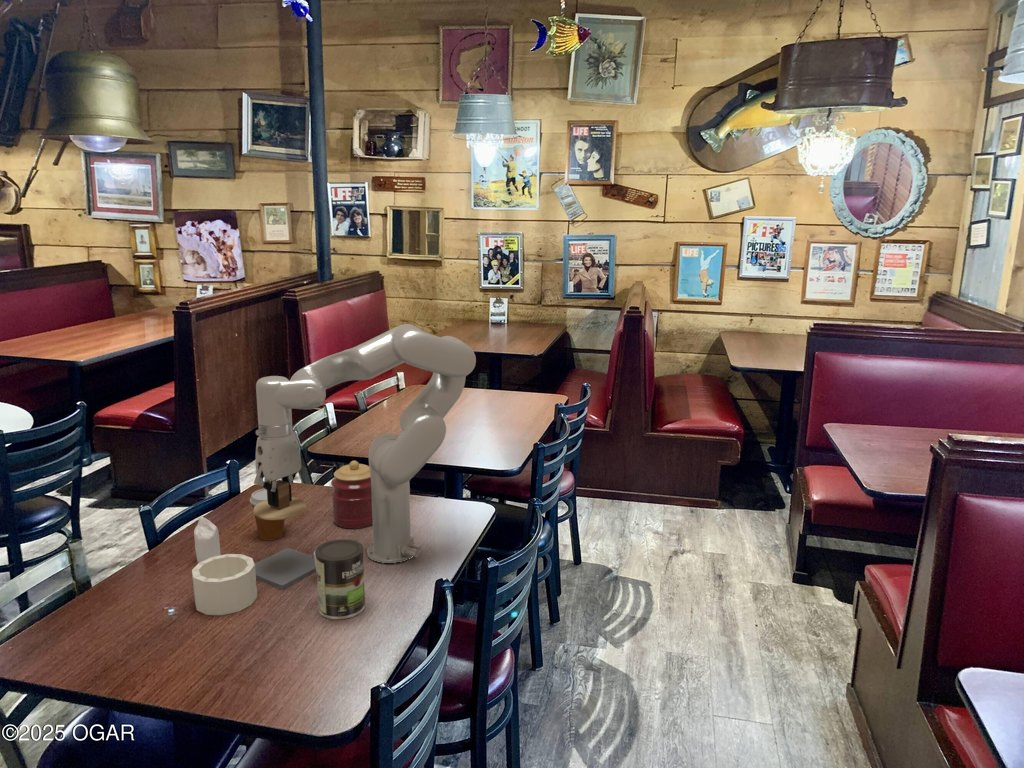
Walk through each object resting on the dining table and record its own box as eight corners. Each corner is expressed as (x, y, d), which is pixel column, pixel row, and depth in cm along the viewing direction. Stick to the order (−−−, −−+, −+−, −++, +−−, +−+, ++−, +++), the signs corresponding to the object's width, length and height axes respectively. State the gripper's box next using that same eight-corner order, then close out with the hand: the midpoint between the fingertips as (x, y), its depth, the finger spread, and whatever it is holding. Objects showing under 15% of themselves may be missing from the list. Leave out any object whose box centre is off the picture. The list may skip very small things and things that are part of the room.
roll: (222, 512, 184) (207, 521, 179) (225, 556, 187) (211, 566, 182) (201, 509, 186) (186, 518, 181) (205, 552, 189) (190, 562, 183)
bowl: (268, 595, 169) (266, 563, 167) (220, 621, 158) (217, 587, 156) (231, 580, 175) (229, 549, 173) (183, 604, 165) (179, 571, 163)
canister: (357, 506, 218) (355, 450, 214) (389, 518, 211) (387, 459, 207) (323, 521, 208) (320, 462, 204) (355, 533, 201) (352, 472, 196)
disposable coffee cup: (244, 539, 197) (241, 497, 194) (269, 525, 205) (266, 484, 202) (273, 545, 193) (270, 503, 190) (297, 531, 202) (294, 490, 199)
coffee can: (375, 603, 166) (373, 546, 163) (342, 625, 157) (339, 564, 154) (341, 590, 171) (339, 534, 168) (308, 610, 163) (304, 552, 159)
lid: (316, 507, 179) (315, 480, 177) (277, 524, 169) (275, 496, 167) (282, 496, 185) (281, 470, 183) (242, 512, 175) (241, 485, 173)
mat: (327, 565, 183) (326, 561, 183) (282, 589, 171) (282, 585, 171) (288, 551, 190) (287, 547, 190) (242, 573, 179) (242, 569, 178)
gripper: (257, 441, 163) (262, 518, 168) (313, 423, 177) (316, 495, 181) (235, 435, 167) (240, 510, 172) (291, 418, 181) (295, 489, 185)
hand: (279, 502), depth 177 cm, fingers closed on lid, 3 cm apart
